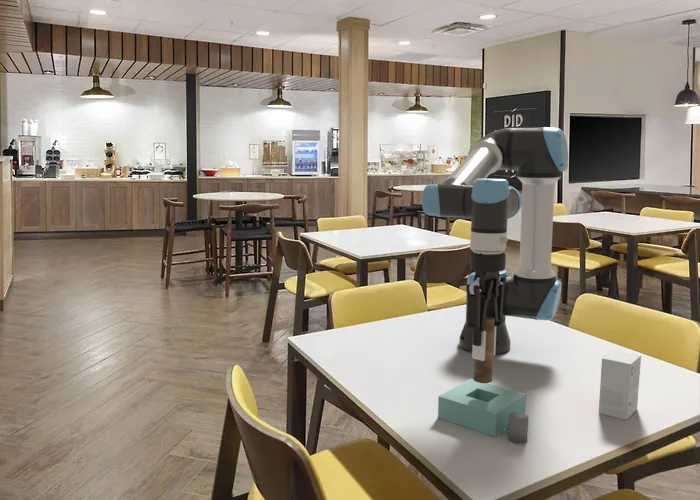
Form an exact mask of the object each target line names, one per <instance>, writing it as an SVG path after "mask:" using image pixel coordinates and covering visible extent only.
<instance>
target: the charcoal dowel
mask: <svg viewBox="0 0 700 500" xmlns="http://www.w3.org/2000/svg"><path fill="white" fill-rule="evenodd" d="M529 420H530V419H529V416H528V414H526V413H525V414H524V413H519V412H513V413H510V414H509V415H508V428H507V440H508V441H509V442H510V443H512V444H517V445H521V444H526V443H528V441H529V440H528V438H529V437H528V435H529Z"/></svg>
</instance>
